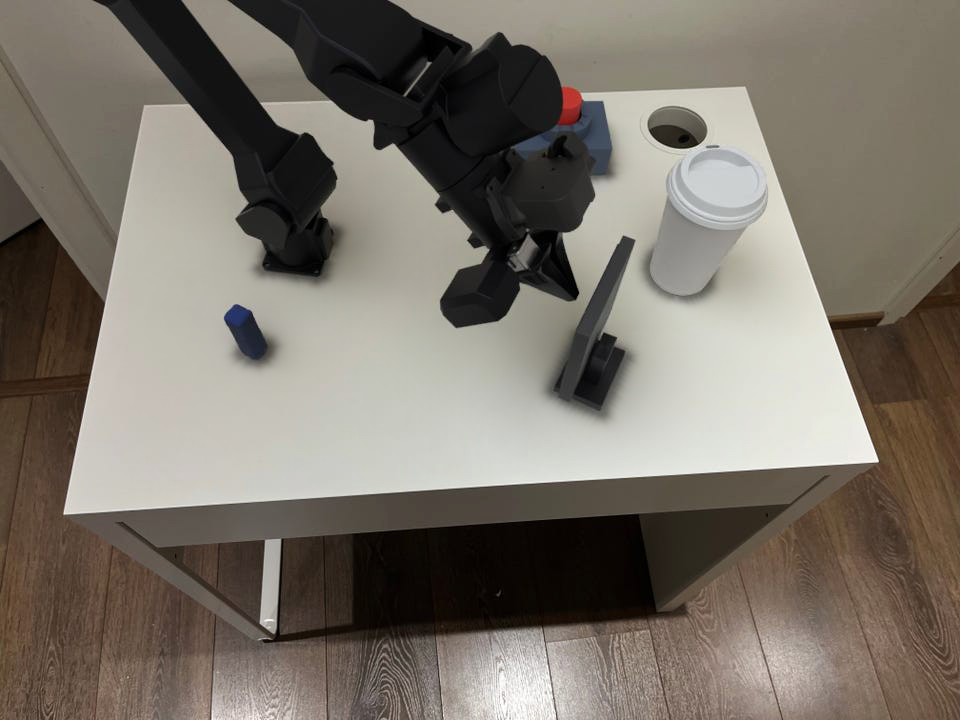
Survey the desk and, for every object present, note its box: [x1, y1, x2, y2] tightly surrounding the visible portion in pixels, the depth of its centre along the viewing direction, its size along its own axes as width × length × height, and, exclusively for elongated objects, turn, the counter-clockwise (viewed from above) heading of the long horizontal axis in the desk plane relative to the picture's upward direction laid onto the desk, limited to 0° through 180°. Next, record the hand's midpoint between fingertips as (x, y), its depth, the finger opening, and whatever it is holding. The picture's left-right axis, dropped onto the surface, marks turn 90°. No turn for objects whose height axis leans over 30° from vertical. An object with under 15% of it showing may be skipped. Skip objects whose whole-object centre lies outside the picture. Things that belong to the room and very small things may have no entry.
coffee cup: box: [649, 143, 769, 297], centre depth 71 cm, size 10×10×15 cm
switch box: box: [511, 98, 613, 176], centre depth 83 cm, size 11×8×6 cm
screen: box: [557, 234, 636, 403], centre depth 63 cm, size 1×11×12 cm, turn 155°
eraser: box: [223, 303, 268, 361], centre depth 68 cm, size 2×2×7 cm
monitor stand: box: [553, 331, 627, 411], centre depth 68 cm, size 5×7×6 cm
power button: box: [558, 86, 583, 125], centre depth 80 cm, size 4×4×2 cm
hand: (574, 298), depth 62 cm, fingers closed
